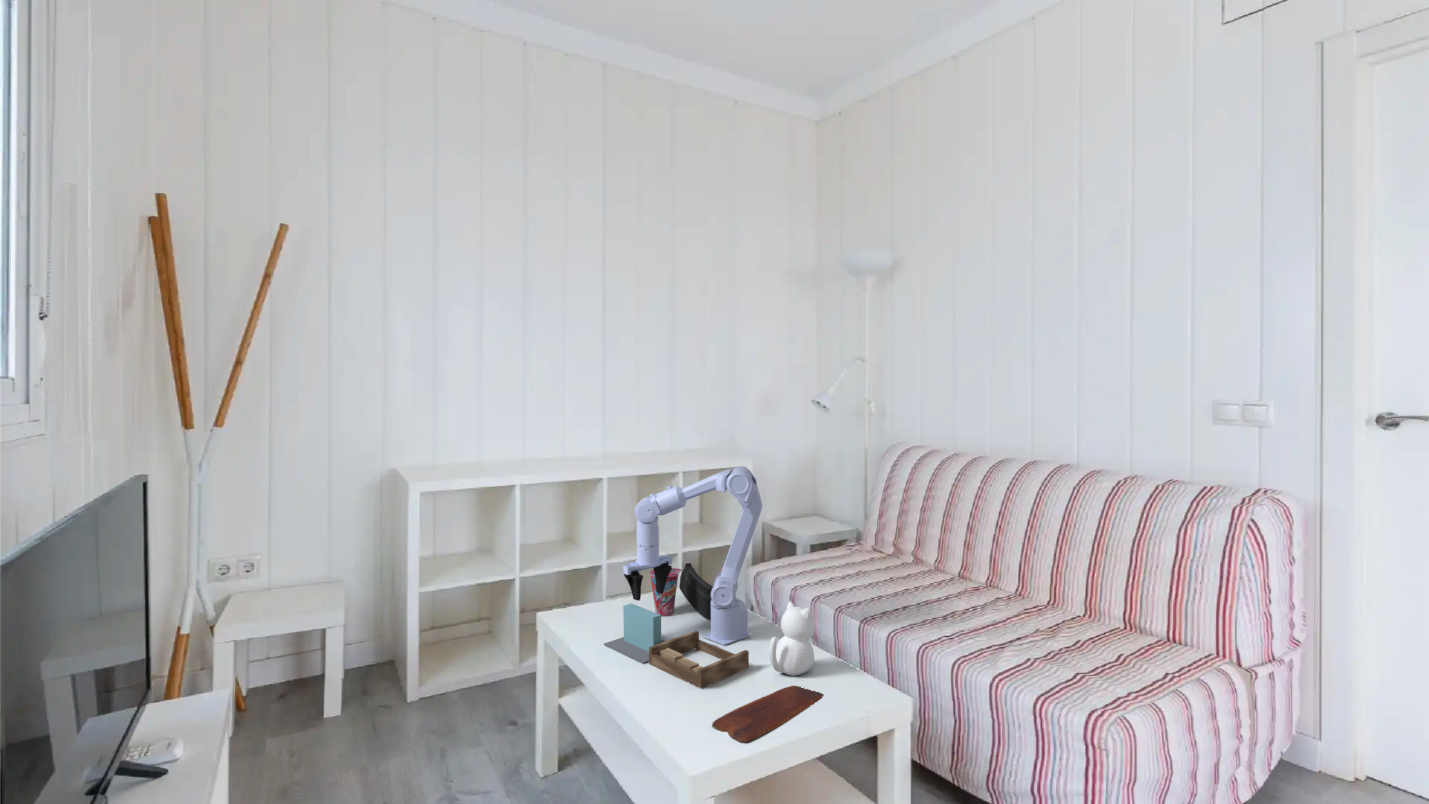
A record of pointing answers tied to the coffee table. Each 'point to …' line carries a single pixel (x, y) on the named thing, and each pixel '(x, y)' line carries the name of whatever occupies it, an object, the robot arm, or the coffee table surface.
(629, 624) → the teal rectangular block
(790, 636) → the cat figurine
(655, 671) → the coffee table surface
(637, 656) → the mat
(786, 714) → the wooden tablet
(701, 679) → the rack
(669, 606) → the cup
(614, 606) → the coffee table surface
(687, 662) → the offcuts
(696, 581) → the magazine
